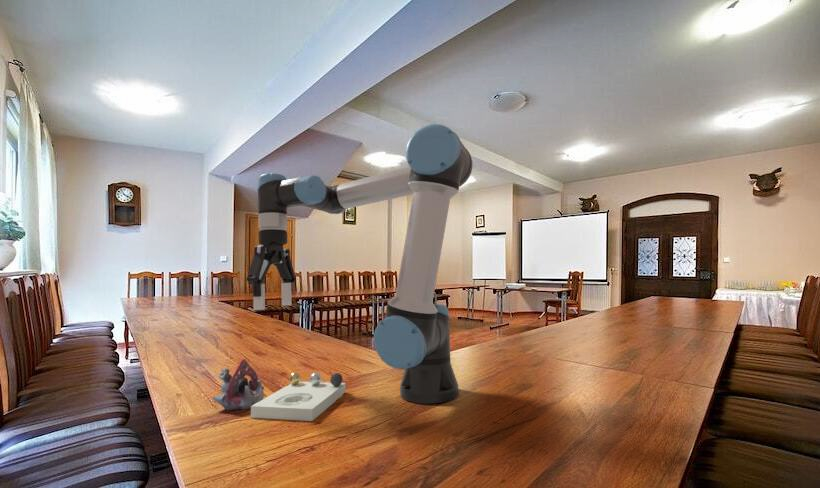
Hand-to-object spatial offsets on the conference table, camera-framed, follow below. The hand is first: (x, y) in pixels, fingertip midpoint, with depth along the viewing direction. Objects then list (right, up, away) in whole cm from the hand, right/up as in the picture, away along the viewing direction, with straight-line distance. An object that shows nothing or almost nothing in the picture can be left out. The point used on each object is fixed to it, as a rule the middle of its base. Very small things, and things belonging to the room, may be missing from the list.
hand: (273, 307), depth 97 cm
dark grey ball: (+18, -18, -3) cm, 26 cm away
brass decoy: (+6, -19, -1) cm, 20 cm away
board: (+10, -22, -9) cm, 26 cm away
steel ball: (+12, -19, -2) cm, 22 cm away
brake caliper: (-5, -23, -8) cm, 25 cm away
